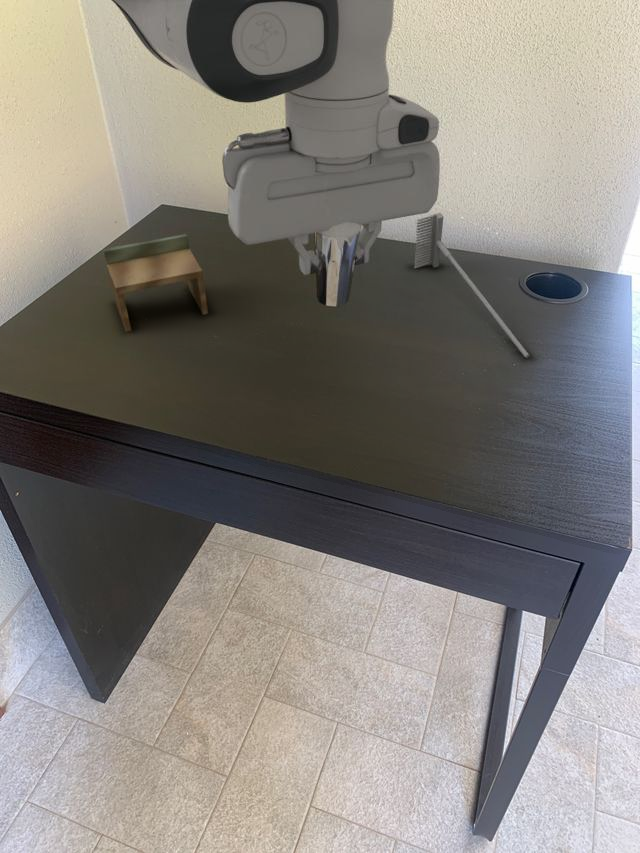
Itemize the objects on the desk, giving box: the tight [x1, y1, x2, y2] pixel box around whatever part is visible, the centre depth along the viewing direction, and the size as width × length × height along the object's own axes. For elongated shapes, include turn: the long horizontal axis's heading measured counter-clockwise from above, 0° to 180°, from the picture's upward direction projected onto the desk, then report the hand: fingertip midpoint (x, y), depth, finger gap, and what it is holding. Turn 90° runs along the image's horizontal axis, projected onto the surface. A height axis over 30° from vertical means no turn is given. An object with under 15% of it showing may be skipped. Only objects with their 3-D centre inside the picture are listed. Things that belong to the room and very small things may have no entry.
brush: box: [413, 212, 531, 359], centre depth 98 cm, size 4×28×9 cm, turn 19°
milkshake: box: [313, 222, 362, 308], centre depth 67 cm, size 4×5×10 cm
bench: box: [102, 233, 209, 333], centre depth 98 cm, size 12×8×9 cm, turn 112°
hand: (334, 266), depth 68 cm, fingers closed on milkshake, 4 cm apart
